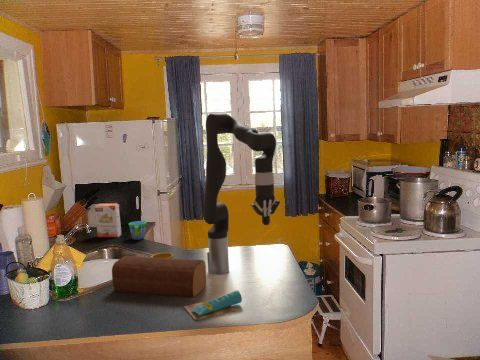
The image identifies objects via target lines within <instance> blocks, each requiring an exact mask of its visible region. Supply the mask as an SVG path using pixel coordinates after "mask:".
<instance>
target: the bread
mask: <svg viewBox="0 0 480 360" xmlns="http://www.w3.org/2000/svg"><path fill="white" fill-rule="evenodd" d="M206 269H207V266H206V262H205V260H204V259H203V260H202V259H189V258H188V259H186V258H173V259H168V258H153V257H151V256H133V255H130V256H129V255H125V256H122V257H121V258H119V259H118V260H117V261H115V262H114V264H113V265H112V268H111V278H112V279H111V280H112V285H113V290H114V291H115V292H120V291H124V292H123V293H133V292H134V294H135V293H136V294H146V295H157V296H158V295H160V296H172V297H180V298H181V297H182V298H183V297H184V298H194V297H196V296H197V295H198V294H199V293H201V291H202V290H203V289H204V288H205V287H206V286H207V270H206Z"/></svg>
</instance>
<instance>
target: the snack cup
mask: <svg viewBox="0 0 480 360" xmlns="http://www.w3.org/2000/svg"><path fill="white" fill-rule="evenodd" d="M146 225H147V222H146V221H144V220H136V221H131V222H129V223H128V227H129V231H130V235H131V238H132V240H133V241H134V240H136V241H139V240H143V239H144V238H145V237H146Z"/></svg>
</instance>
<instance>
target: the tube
mask: <svg viewBox="0 0 480 360" xmlns="http://www.w3.org/2000/svg"><path fill="white" fill-rule="evenodd" d="M242 298H243V297H242V294H241V293H240V290H234V291H232V292H229V293H227V294H223V295H221V296H218V297H216V298H213V299H214V300H213V299H211V301H209V300H208V301H209V302H206V303H204V304H201V305H199V306H197V307H195V308H192V309H191V310H193V311H194V312H196V313H197V314H198V315H203V314H207V313H211V312H214V311H217V310H220V309H223V308H226V307H229V306H231V307H233V306H235V305H238V304H241V303H242V301H243V299H242Z"/></svg>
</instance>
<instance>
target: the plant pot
mask: <svg viewBox="0 0 480 360" xmlns="http://www.w3.org/2000/svg"><path fill="white" fill-rule="evenodd" d="M150 257H153V258H168V259H174V254H173V253H171V252H160V253H154V254H153V255H151V256H150Z"/></svg>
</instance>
